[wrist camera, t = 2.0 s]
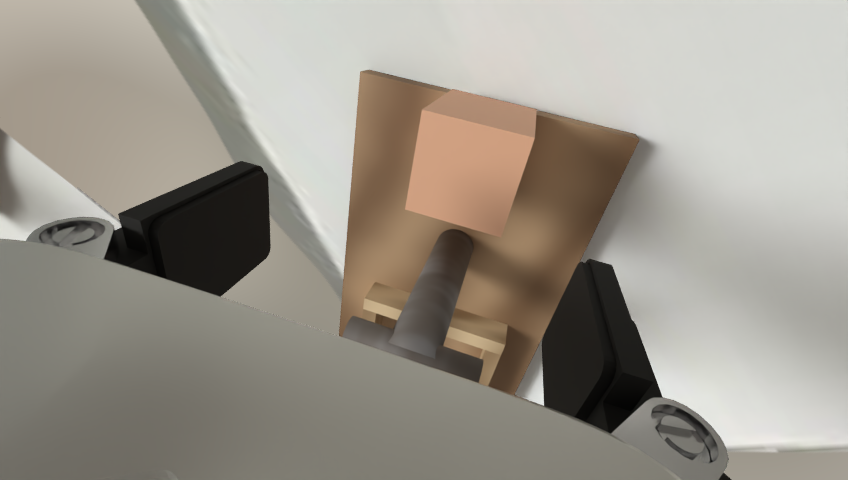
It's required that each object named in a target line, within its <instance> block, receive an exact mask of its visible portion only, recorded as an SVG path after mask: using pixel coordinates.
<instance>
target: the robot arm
mask: <svg viewBox="0 0 848 480" xmlns="http://www.w3.org/2000/svg"><path fill="white" fill-rule="evenodd" d="M118 215H119V219H120V222H121V226H122V228H119V229H117V230H114V226H113V225H112V224H111V223H110V222H109V221H106V220H104V219H100V218H94V217H77V218H67V219H63V220H58V221H54V222H51V223H48V224H46V225H43V226H41V227H40V228H38V229H36V230H34V231H33V232H32V233H31V234H30V235H29V237H28V238H27V240H26V241H20V240H10V239H0V480H731V479H730V478H729V477H728V476H727V475H726V474H724V473H723V472H724V471H725V469H726V467H727V463H728V460H729V458H728V454H727V449H726V447H725V445H724V443H723V441H722V440H721V438H720V436H719V435H718V434H717V432H716V431H715V430H714V429H713V428H712V426H711V425H710V424H709V423H708V422H707V421H705V420H704V419H703V418H702V417H701V416H700V415H699V414H697V413H696V412H694V411H693V410H691V409H690V408H688V407H687V406H685V405H683V404H681V403H678V402H676V401H674V400H671V399H667V398H663V397H662V395H661V392H660V389H659V387H658V384H657V381H656V378H655V376H654V373H653V370H652V368H651V365H650V362H649V359H648V357H647V354H646V351H645V348H644V346H643V343H642V340H641V338H640V335H639V332H638V329H637V327H636V325H635V323H634V321H632V320H631V317H630V314H629V311H628V308H627V306H626V303H625V300H624V297H623V295H622V292H621V289H620V286H619V283H618V281H617V278H616V275H615V272H614V269H613V267H612V265H610V264H606V263H602V262H599V261H595V260H592V259H589V260H587V261H586V263H583V262H579V263H578V265H577V266H576V268H575V271H574V273H573V275H572V277H571V279H570V281H569V283H568V285H567V287H566V289H565V291H564V293H563V295H562V298H561V300H560V302H559V304H558V306H557V308H556V310H555V312H554V314H553V316H552V318H551V320H550V322H549V325H548V327H547V329H546V331H545V333H544V336H543V340H542V361H543V386H544V406H543V405H540V404H537V403H535V402H532V401H529V400H527V399H524V398H521V397H518V396H516V395H513V394H510V393H507V392H504V391H501V390H498V389H495V388H492V387H489V386H486V385H483V384H480V383H477V382H474V381H471V380H468V379H465V378H462V377H459V376H456V375H454V374H451V373H448V372H445V371H442V370H439V369H436V368H433V367H430V366H427V365H424V364H421V363H418V362H415V361H412V360H409V359H406V358H403V357H400V356H397V355H394V354H391V353H388V352H385V351H382V350H379V349H376V348H373V347H370V346H367V345H364V344H361V343H358V342H355V341H352V340H349V339H346V338H343V337H340V336H337V335H334V334H331V333H328V332H325V331H322V330H319V329H316V328H313V327H310V326H307V325H304V324H301V323H298V322H295V321H292V320H289V319H286V318H283V317H280V316H277V315H274V314H271V313H268V312H265V311H262V310H259V309H256V308H252V307H250V306H246V305H244V304H241V303H238V302H235V301H231V300H229V299H226V298H222V297H221V296H222V295H223V294H224V293H225V292H227V290H229V289H230V288H231V287H233V286H234V285H235V284H236V283H237V282H238V281H240V280H241V279H242V278H243V277H244V276H246V275H247V274H248V273H249V272H250V271H251V270H253V269H254V268H255V267H256V266H257V265H259V264H260V263H261V262H262V261H263V260H264V259H266V258H267V256H268V255H269V252H270V221H269V190H268V176H267V174H266V173H265V172H264V170H263V168H262V167H261V166H257V165H254V164H250V163H247V162H243V161H240V162H237V163H235V164H233V165H230V166H228V167H226V168H223V169H221V170H219V171H217V172H214V173H212V174H210V175H207V176H205V177H203V178H200V179H198V180H196V181H193V182H191V183H189V184H186V185H184V186H182V187H179V188H177V189H175V190H173V191H170V192H168V193H166V194H163V195H161V196H158V197H156V198H154V199H151V200H149V201H147V202H145V203H142V204H140V205H138V206H135V207H133V208H131V209H128V210H126V211H124V212H121V213H119V214H118Z"/></svg>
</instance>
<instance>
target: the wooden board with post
mask: <svg viewBox="0 0 848 480" xmlns="http://www.w3.org/2000/svg"><path fill="white" fill-rule="evenodd" d="M449 91H450V89H446V88H442V87H438V86H434V85H430V84H426V83H421V82H417V81H413V80H409V79H405V78H401V77H397V76H393V75H388V74H384V73H380V72H376V71H372V70H366V71H361V72H360V82H359V94H358V106H357V119H356V131H355V143H354V156H353V168H352V181H351V193H350V205H349V218H348V230H347V242H346V255H345V267H344V279H343V292H342V304H341V316H340V329H339V336H340V337H343V338H346V339H349V340H352V341H355V342H358V343H361V344H364V345H367V346H370V347H373V348H376V349H379V350H382V351H385V352H388V353H391V354H394V355H397V356H400V357H403V358H406V359H409V360H412V361H415V362H418V363H421V364H424V365H427V366H430V367H433V368H436V369H439V370H442V371H445V372H448V373H451V374H454V375H456V376H459V377H462V378H465V379H468V380H471V381H474V382H477V383H480V384H483V385H486V386H489V387H492V388H495V389H498V390H501V391H504V392H507V393H510V394H513V395H514V394H515V392H516V390H517V388H518V386H519V384H520V382H521V380H522V378H523V376H524V374H525V372H526V370H527V368H528V366H529V364H530V362H531V360H532V358H533V356H534V353H535V351H536V349H537V347H538V345H539V343H540V341H541V339H542V337H543V335H544V333H545V331H546V329H547V327H548V325H549V322H550V320H551V318H552V316H553V314H554V312H555V310H556V308H557V306H558V304H559V302H560V300H561V298H562V295H563V293H564V291H565V289H566V287H567V285H568V283H569V281H570V279H571V277H572V275H573V273H574V271H575V268H576V266H577V265H578V263H579V262H580V260H581V258H582V256H583V254H584V252H585V250H586V248H587V246H588V244H589V242H590V240H591V238H592V236H593V233H594V231H595V229H596V227H597V225H598V223H599V221H600V219H601V217H602V215H603V213H604V211H605V209H606V207H607V205H608V203H609V201H610V199H611V197H612V195H613V193H614V191H615V189H616V187H617V185H618V183H619V181H620V179H621V177H622V174H623V172H624V170H625V168H626V166H627V164H628V162H629V160H630V158H631V156H632V154H633V152H634V150H635V148H636V146H637V144H638V142H639V138H638V137H637V136H636V135H635V134H632V133H628V132H624V131H620V130H616V129H612V128H608V127H603V126H599V125H595V124H591V123H587V122H583V121H579V120H575V119H570V118H566V117H562V116H558V115H554V114H550V113H546V112H541V111H537V112H536V128H535V139H534V142H533V145H532V148H531V151H530V154H529V157H528V160H527V163H526V166H525V169H524V172H523V174H522V177H521V180H520V183H519V186H518V189H517V192H516V195H515V198H514V201H513V204H512V207H511V210H510V213H509V216H508V219H507V222H506V224H505V227H504V230H503V233H502V236H501V237H497V236H494V235H490V234H487V233H484V232H480V231H477V230H473V229H470V228H467V227H463V226H460V225H456V224H453V223H449V222H446V221H443V220H439V219H436V218H432V217H429V216H426V215H422V214H419V213H415V212H412V211H408V210H405V206H406V200H407V195H408V189H409V183H410V177H411V171H412V165H413V159H414V154H415V148H416V142H417V136H418V130H419V124H420V118H421V112H422V109H424V108H425V107H427V106H428V105H429V104H431V103H432V102H434V101H435V100H437V99H438V98H440V97H441V96H443V95H444V94H446V93H447V92H449Z"/></svg>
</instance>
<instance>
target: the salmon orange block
mask: <svg viewBox="0 0 848 480" xmlns="http://www.w3.org/2000/svg"><path fill="white" fill-rule="evenodd" d="M536 112H537V109H533V108H529V107H525V106H521V105H517V104H512V103H508V102H504V101H500V100H496V99H492V98H488V97H483V96H479V95H475V94H471V93H467V92H463V91H459V90H454V89H452V90H450V91H449V92H447V93H446V94H444V95H443V96H441V97H440V98H438V99H437V100H435V101H434V102H432V103H431V104H429V105H428V106H427V107H425V108H424V109H422V112H421V118H420V124H419V130H418V136H417V142H416V148H415V154H414V159H413V165H412V171H411V177H410V183H409V189H408V195H407V200H406V206H405V210H408V211H412V212H415V213H419V214H422V215H426V216H429V217H432V218H436V219H439V220H443V221H446V222H449V223H453V224H456V225H460V226H463V227H467V228H470V229H473V230H477V231H480V232H484V233H487V234H490V235H494V236H497V237H501V236H502V233H503V230H504V227H505V224H506V222H507V219H508V216H509V213H510V210H511V207H512V204H513V201H514V198H515V195H516V192H517V189H518V186H519V183H520V180H521V177H522V174H523V172H524V169H525V166H526V163H527V160H528V157H529V154H530V151H531V148H532V145H533V142H534V139H535V128H536Z"/></svg>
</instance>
